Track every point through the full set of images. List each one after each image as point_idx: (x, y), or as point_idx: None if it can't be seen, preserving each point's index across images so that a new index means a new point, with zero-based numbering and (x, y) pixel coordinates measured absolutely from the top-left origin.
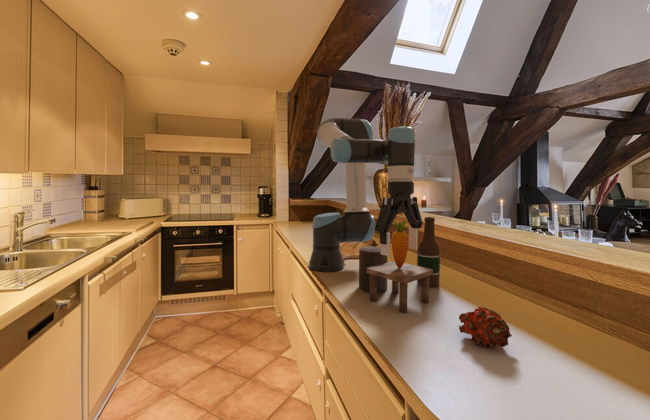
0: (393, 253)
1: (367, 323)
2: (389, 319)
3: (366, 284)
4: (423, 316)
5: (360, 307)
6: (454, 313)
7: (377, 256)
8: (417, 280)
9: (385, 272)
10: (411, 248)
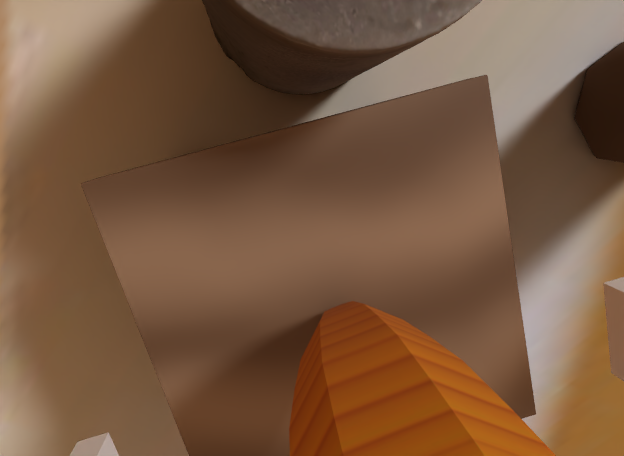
0: (303, 372)
1: (26, 392)
2: (140, 392)
3: (217, 33)
4: None
5: (73, 235)
6: None
7: (291, 51)
8: (600, 68)
9: (171, 358)
10: (608, 322)
